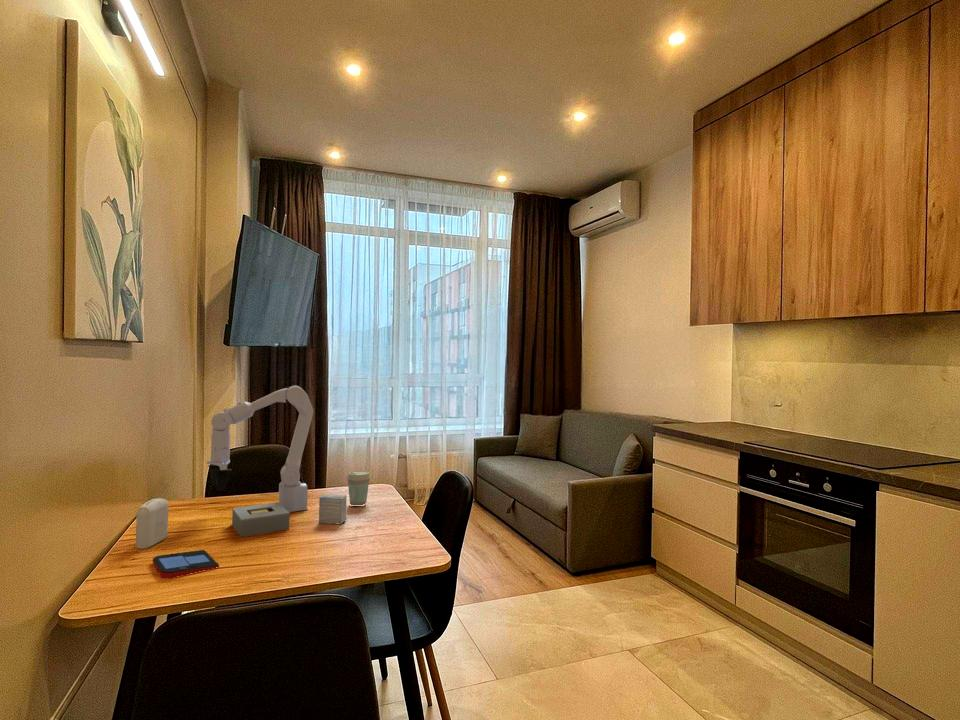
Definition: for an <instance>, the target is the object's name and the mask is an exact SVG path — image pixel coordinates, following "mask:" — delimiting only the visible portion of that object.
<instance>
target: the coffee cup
mask: <svg viewBox="0 0 960 720" xmlns="http://www.w3.org/2000/svg"><path fill="white" fill-rule="evenodd" d="M370 479H371V475H370V472H369V471H365V470H353V471H350V472H348V475H347V477H346V480H347V486H348V496H349V497H348V498H349V499H348V500H349V505H350V504H351V505H363V504H365V503H366V504H367V500H368V493H369V485H370Z"/></svg>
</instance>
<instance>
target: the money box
mask: <svg viewBox="0 0 960 720" xmlns="http://www.w3.org/2000/svg"><path fill="white" fill-rule="evenodd" d="M265 509H267V510H268V511H269V512H264V513H257V514H250V512H251V511H258V510H265ZM231 512H232V514H231V515H232V516H231V525H232V527H233V528H234V529H235V531H236V532H237V534H238V536H239V537H240V538H244V537H251V536H255V535H261V534H263V535H264V534H268V533H275V532H274V531H276V532H280V530H282V531H286V530H285V529H288V530H290V515H291V514H290V513H291V512H288V511H287V510H286V509H285V508H284V507H283V506H281V505H280V504H279V502H271V503H270V502H269V503H265V504H256V505H249V506H241V507H235V508H232V511H231Z"/></svg>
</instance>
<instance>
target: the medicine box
mask: <svg viewBox="0 0 960 720" xmlns="http://www.w3.org/2000/svg"><path fill="white" fill-rule="evenodd" d="M318 499H319V502H318V503H319V507H318V509H319V510H318V524H324V523H339V524H338V525H343V524H344V523H345V522H346V521H347V494H346V495H345V494H322V496H320V497H319V498H318ZM345 520H346V521H345ZM344 521H345V522H344ZM343 522H344V523H343ZM342 523H343V524H342Z"/></svg>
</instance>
